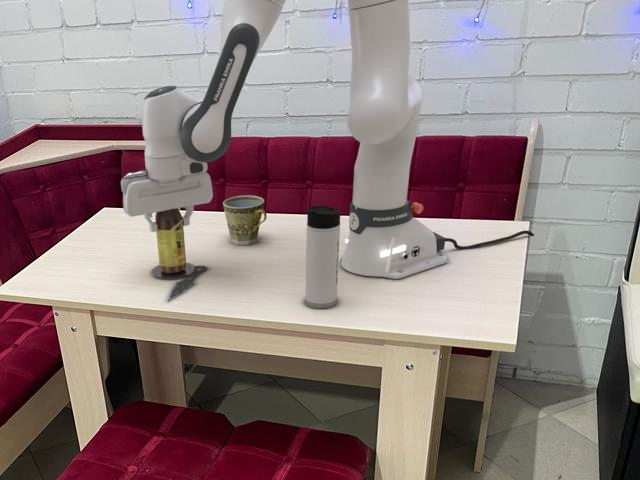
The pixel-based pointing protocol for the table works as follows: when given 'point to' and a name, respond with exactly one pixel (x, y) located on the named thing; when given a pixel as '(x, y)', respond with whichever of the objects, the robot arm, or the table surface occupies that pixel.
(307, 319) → the table surface
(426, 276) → the table surface
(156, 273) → the round mirror
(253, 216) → the ceramic cup
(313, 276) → the travel mug
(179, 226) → the sauce bottle
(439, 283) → the table surface
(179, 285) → the throwing knife
